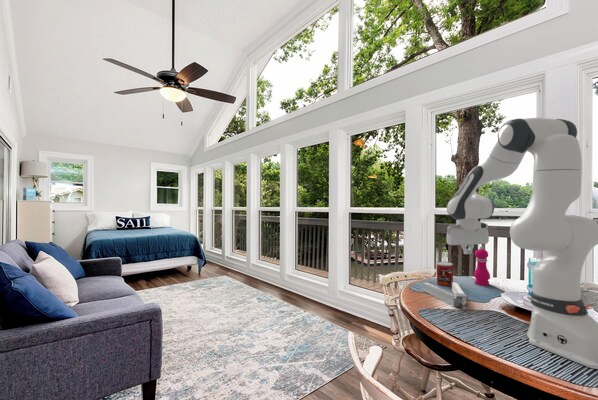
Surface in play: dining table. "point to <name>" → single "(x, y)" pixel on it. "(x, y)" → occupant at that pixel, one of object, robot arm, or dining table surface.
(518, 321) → the dining table surface
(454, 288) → the hinged handle
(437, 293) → the tongs fixed handle
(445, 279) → the canned food
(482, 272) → the pepper mill
